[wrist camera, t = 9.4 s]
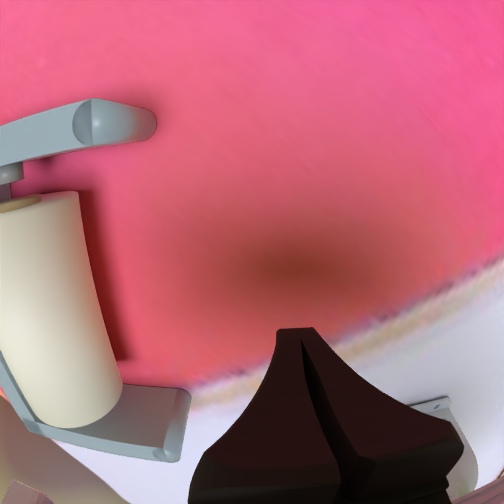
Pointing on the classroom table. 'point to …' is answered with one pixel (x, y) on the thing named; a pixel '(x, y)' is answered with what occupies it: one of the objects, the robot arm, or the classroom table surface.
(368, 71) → the classroom table surface
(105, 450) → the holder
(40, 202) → the cylinder
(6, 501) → the robot arm
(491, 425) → the classroom table surface
